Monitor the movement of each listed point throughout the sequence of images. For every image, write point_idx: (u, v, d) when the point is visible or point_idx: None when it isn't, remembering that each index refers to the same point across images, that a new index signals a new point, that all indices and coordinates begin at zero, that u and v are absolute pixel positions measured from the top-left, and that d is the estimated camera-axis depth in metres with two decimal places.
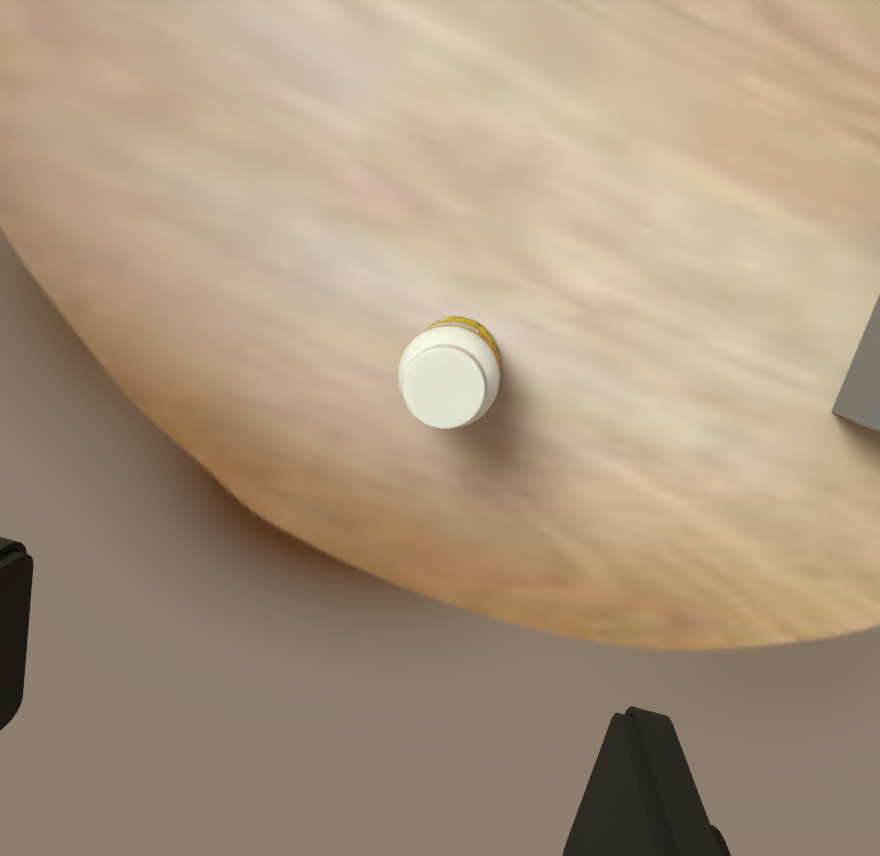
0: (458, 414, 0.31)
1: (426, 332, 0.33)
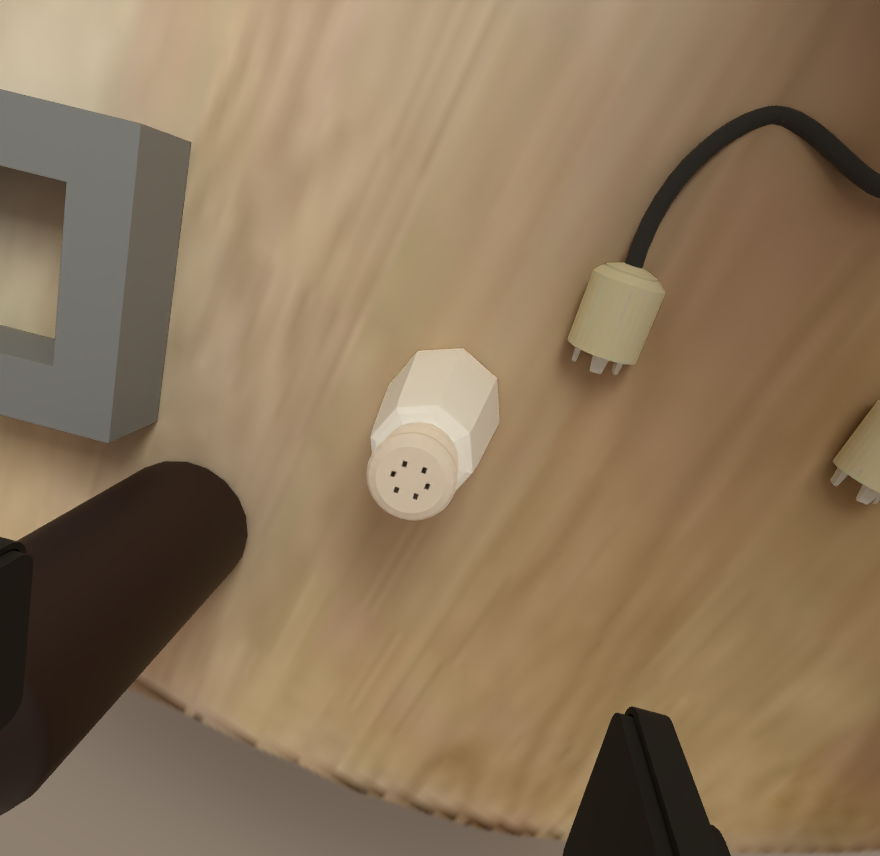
0: None
1: None
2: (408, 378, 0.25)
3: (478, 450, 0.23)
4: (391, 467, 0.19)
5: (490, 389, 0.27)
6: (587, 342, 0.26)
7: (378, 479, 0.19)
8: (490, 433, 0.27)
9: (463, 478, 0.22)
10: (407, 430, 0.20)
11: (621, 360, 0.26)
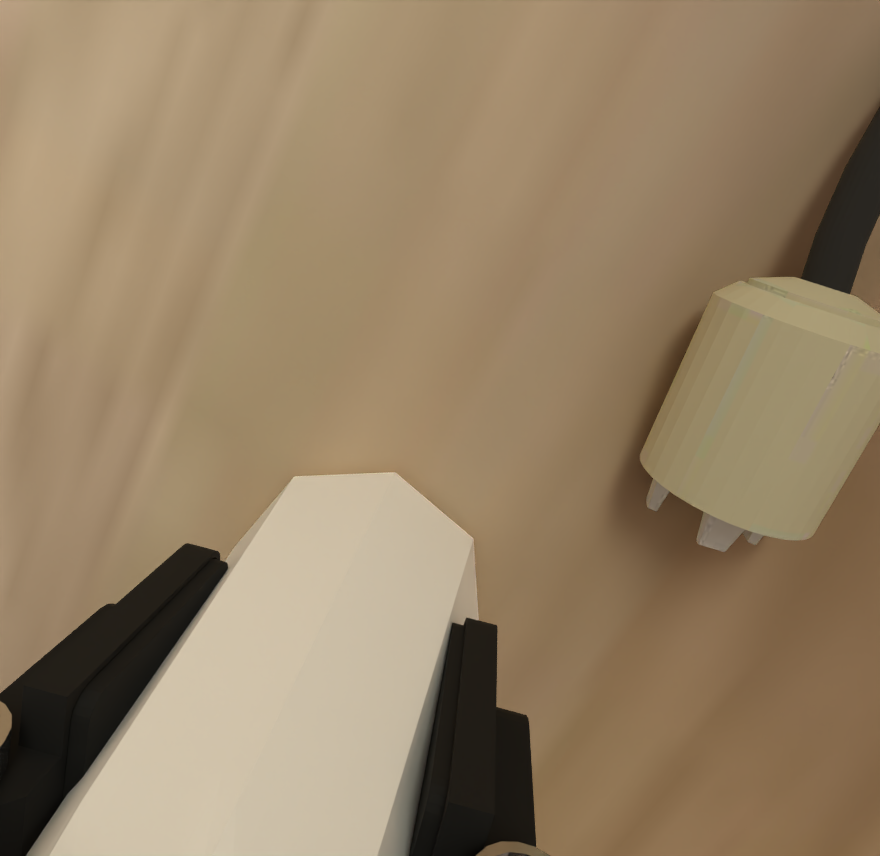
0: None
1: None
2: (205, 618, 0.09)
3: None
4: None
5: (452, 597, 0.11)
6: (703, 485, 0.10)
7: None
8: None
9: None
10: None
11: (792, 533, 0.10)
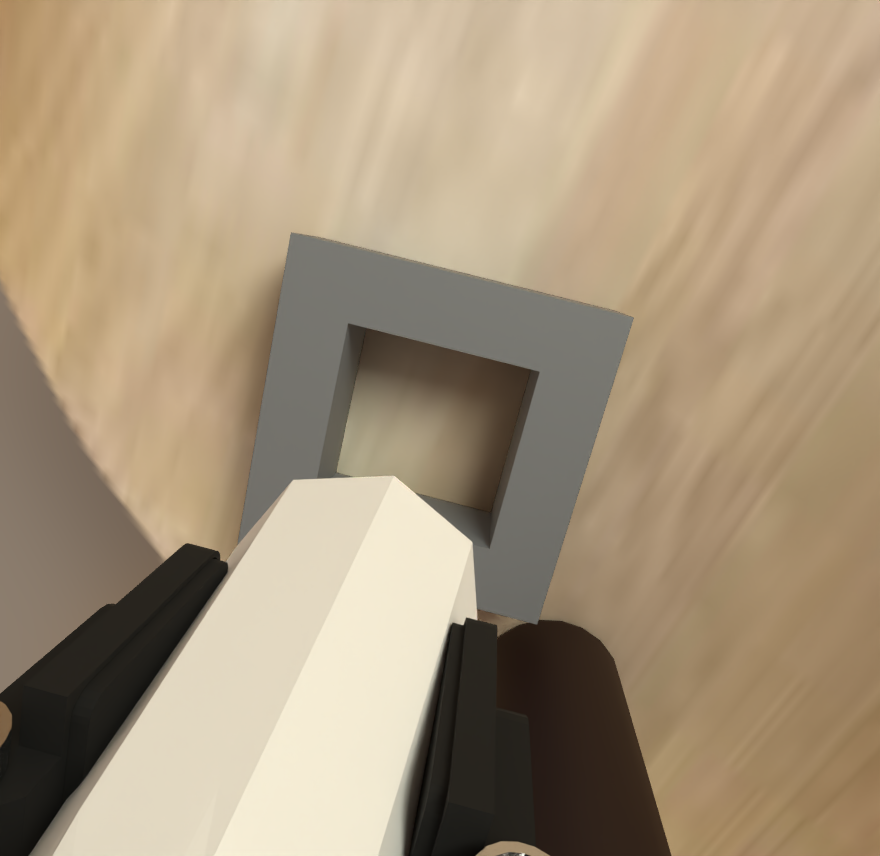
0: None
1: None
2: (204, 624, 0.09)
3: None
4: None
5: (451, 601, 0.11)
6: None
7: None
8: None
9: None
10: None
11: None
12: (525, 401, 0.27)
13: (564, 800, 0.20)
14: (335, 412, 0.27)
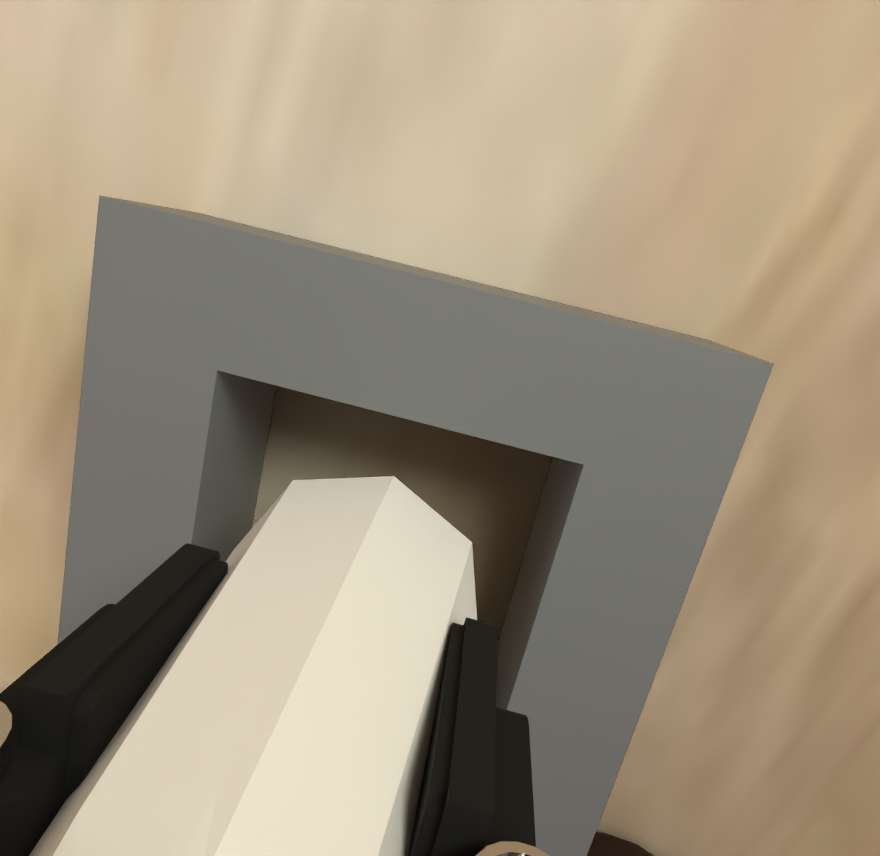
0: None
1: None
2: (204, 624, 0.09)
3: None
4: None
5: (451, 602, 0.11)
6: None
7: None
8: None
9: None
10: None
11: None
12: (551, 500, 0.15)
13: None
14: (213, 522, 0.15)
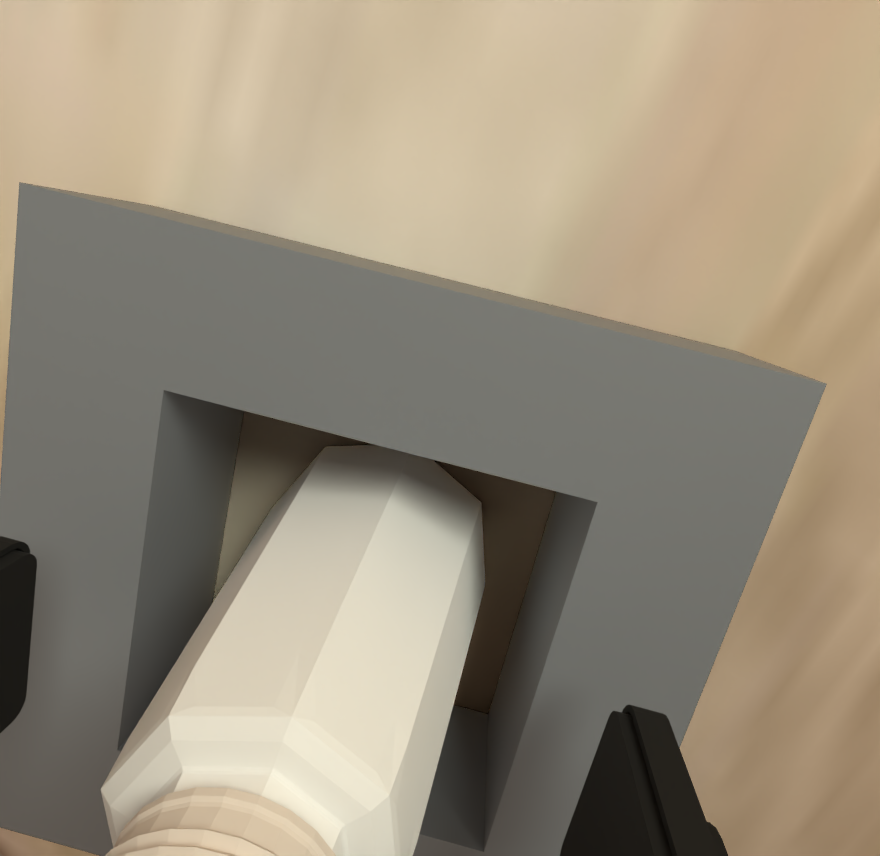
0: None
1: None
2: (267, 550, 0.10)
3: (425, 774, 0.09)
4: None
5: (465, 546, 0.13)
6: None
7: None
8: (464, 650, 0.12)
9: None
10: None
11: None
12: (557, 535, 0.13)
13: None
14: (167, 563, 0.13)
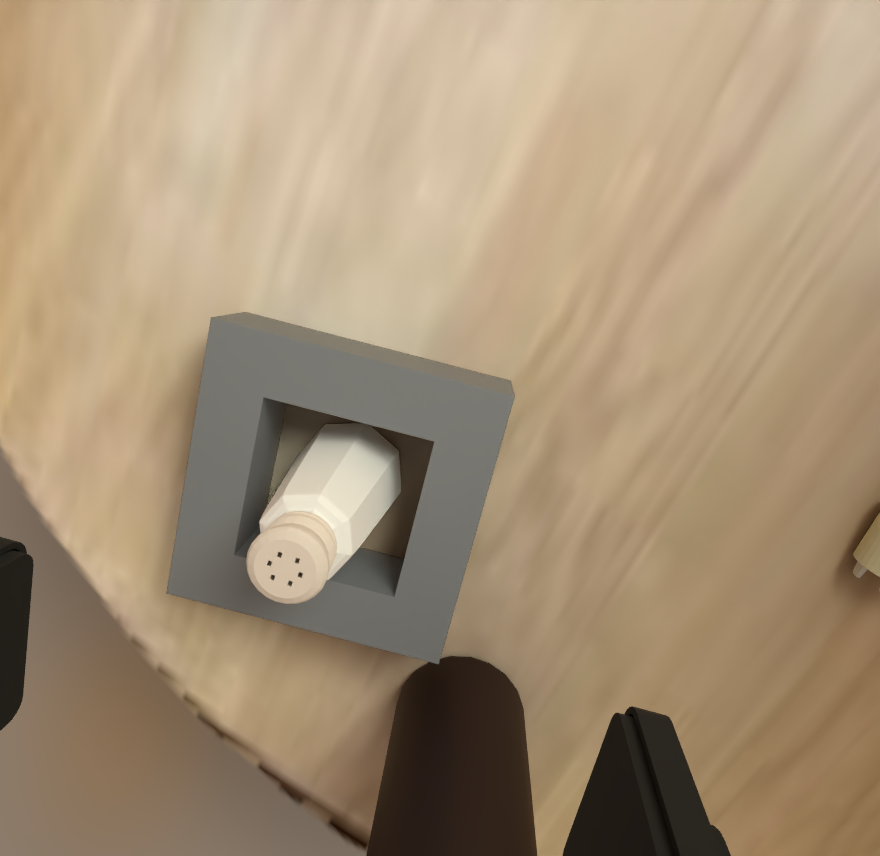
0: None
1: None
2: (304, 459, 0.27)
3: (363, 530, 0.25)
4: (267, 557, 0.21)
5: (387, 465, 0.29)
6: None
7: (256, 568, 0.21)
8: (384, 507, 0.29)
9: (344, 560, 0.24)
10: (286, 521, 0.22)
11: None
12: None
13: (439, 828, 0.23)
14: (256, 473, 0.29)
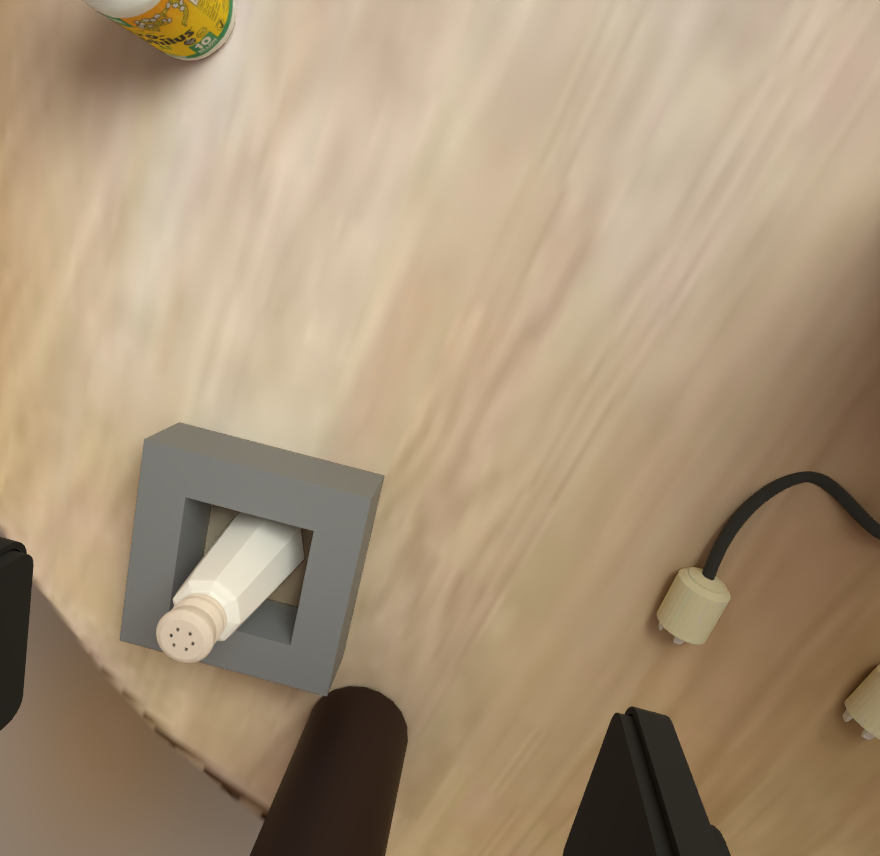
0: None
1: None
2: (215, 545, 0.36)
3: (253, 602, 0.34)
4: (169, 631, 0.30)
5: (285, 544, 0.38)
6: (674, 628, 0.37)
7: (162, 638, 0.30)
8: (281, 577, 0.37)
9: (234, 627, 0.33)
10: (185, 603, 0.31)
11: (698, 642, 0.37)
12: None
13: (301, 822, 0.32)
14: (185, 549, 0.38)
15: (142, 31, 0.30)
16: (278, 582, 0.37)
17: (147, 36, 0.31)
